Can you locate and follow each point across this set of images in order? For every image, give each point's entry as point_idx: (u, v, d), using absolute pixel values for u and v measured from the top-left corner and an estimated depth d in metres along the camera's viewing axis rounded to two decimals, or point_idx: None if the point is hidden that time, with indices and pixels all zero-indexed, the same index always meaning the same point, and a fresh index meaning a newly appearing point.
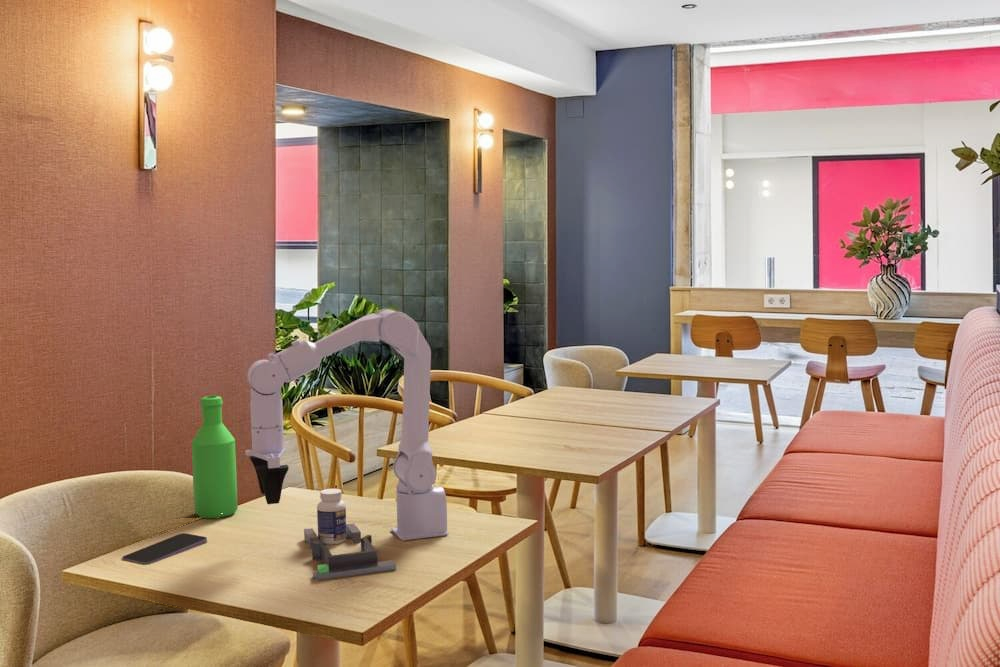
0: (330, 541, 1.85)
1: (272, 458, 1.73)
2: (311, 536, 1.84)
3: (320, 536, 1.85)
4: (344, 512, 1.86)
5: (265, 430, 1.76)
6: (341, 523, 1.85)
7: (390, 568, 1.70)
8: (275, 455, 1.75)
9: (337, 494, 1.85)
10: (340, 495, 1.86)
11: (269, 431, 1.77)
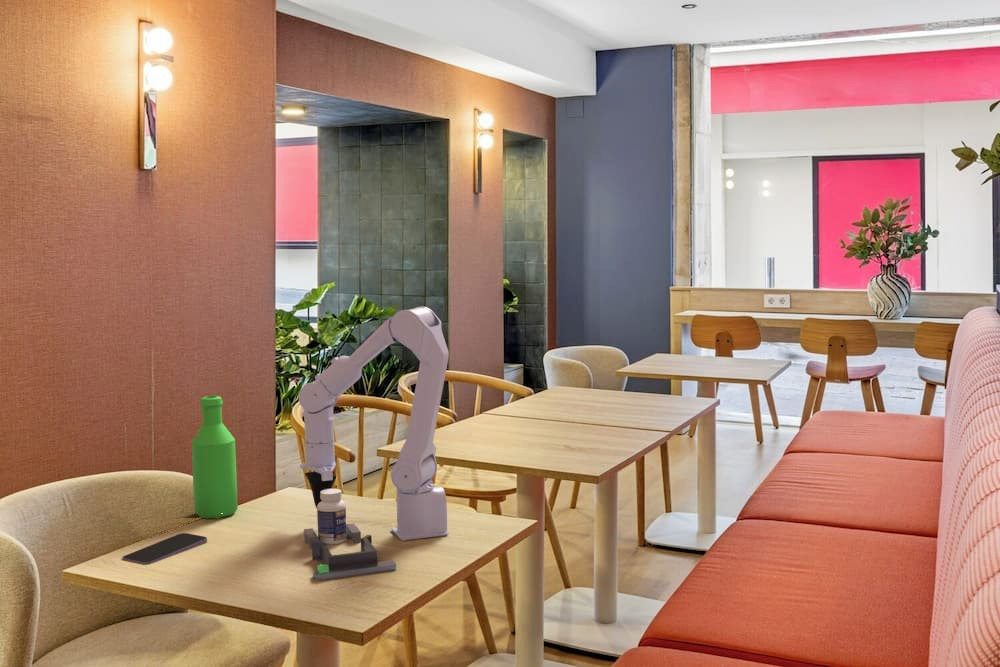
0: (330, 541, 1.85)
1: (326, 471, 1.88)
2: (311, 536, 1.84)
3: (320, 536, 1.85)
4: (344, 512, 1.86)
5: (318, 445, 1.92)
6: (341, 523, 1.85)
7: (390, 568, 1.70)
8: (328, 469, 1.91)
9: (337, 494, 1.85)
10: (340, 495, 1.86)
11: (322, 447, 1.92)
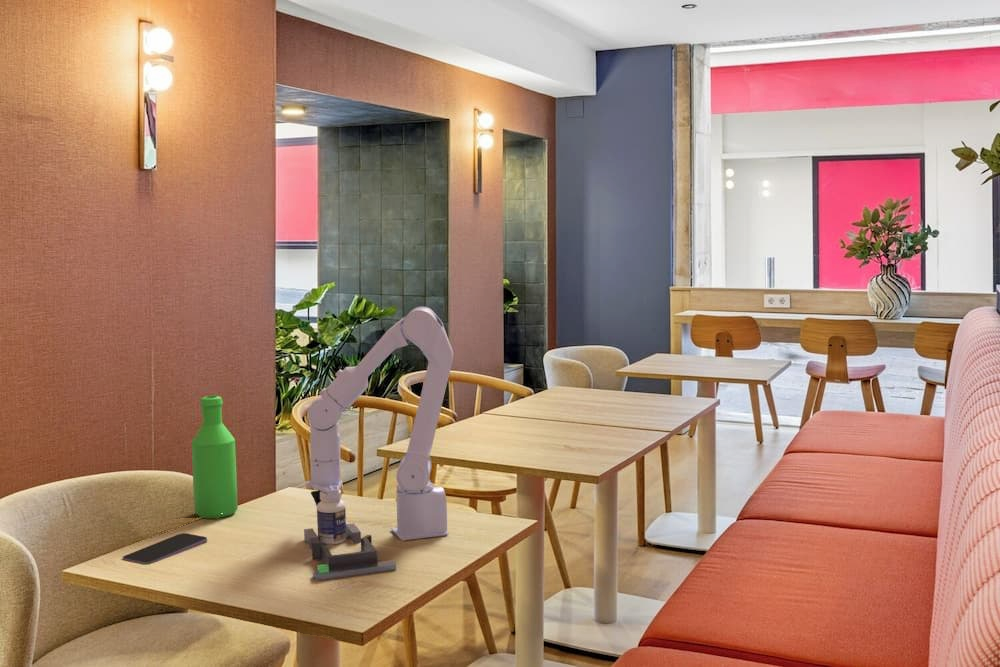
0: (330, 541, 1.84)
1: (331, 491, 1.83)
2: (311, 536, 1.84)
3: (320, 536, 1.85)
4: (343, 512, 1.85)
5: (324, 463, 1.86)
6: (341, 524, 1.85)
7: (390, 568, 1.70)
8: (334, 487, 1.86)
9: None
10: (340, 495, 1.85)
11: (328, 465, 1.87)
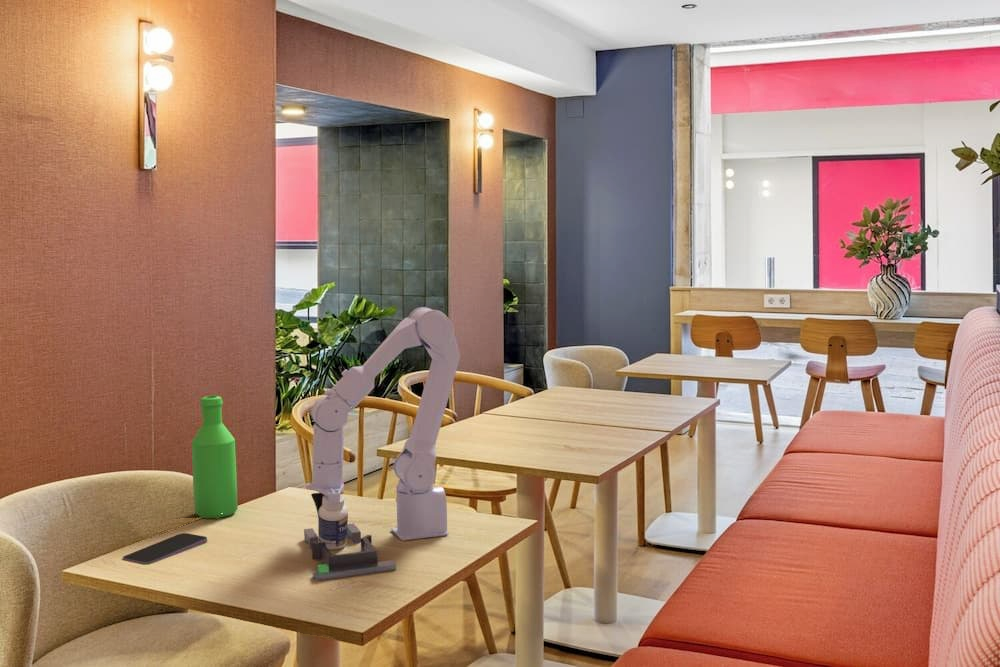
0: (332, 547, 1.81)
1: (333, 494, 1.78)
2: (311, 536, 1.84)
3: (321, 541, 1.82)
4: (346, 518, 1.81)
5: (326, 466, 1.82)
6: (344, 530, 1.81)
7: (390, 568, 1.70)
8: (335, 491, 1.81)
9: (340, 503, 1.79)
10: (343, 502, 1.80)
11: (331, 467, 1.82)
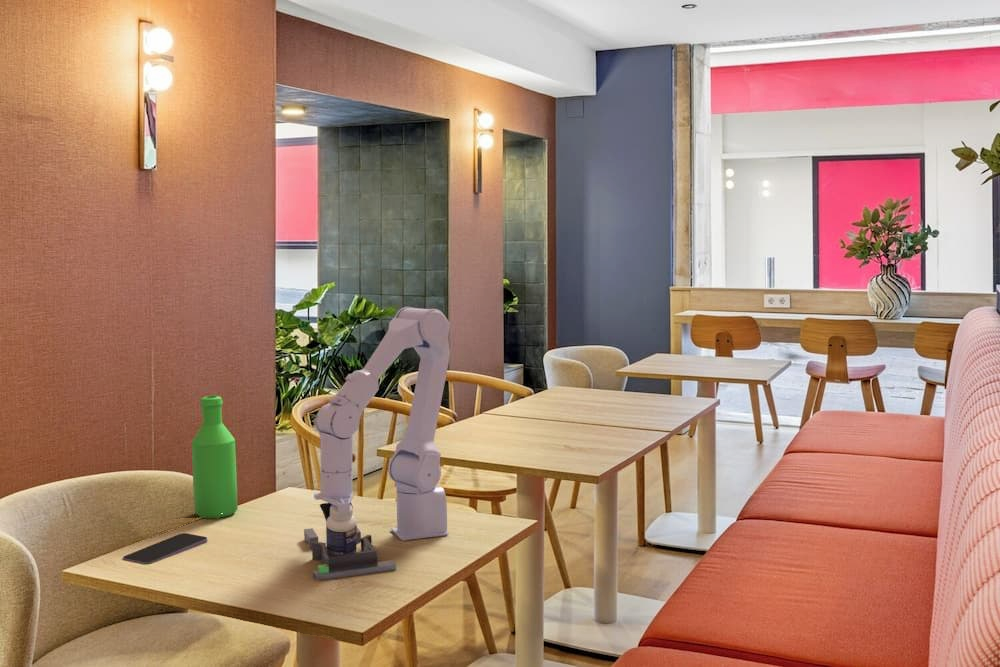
0: None
1: (342, 504, 1.72)
2: (311, 536, 1.84)
3: None
4: (354, 529, 1.75)
5: (335, 475, 1.75)
6: (351, 541, 1.75)
7: (390, 568, 1.70)
8: (345, 501, 1.74)
9: None
10: (351, 513, 1.74)
11: (339, 476, 1.76)
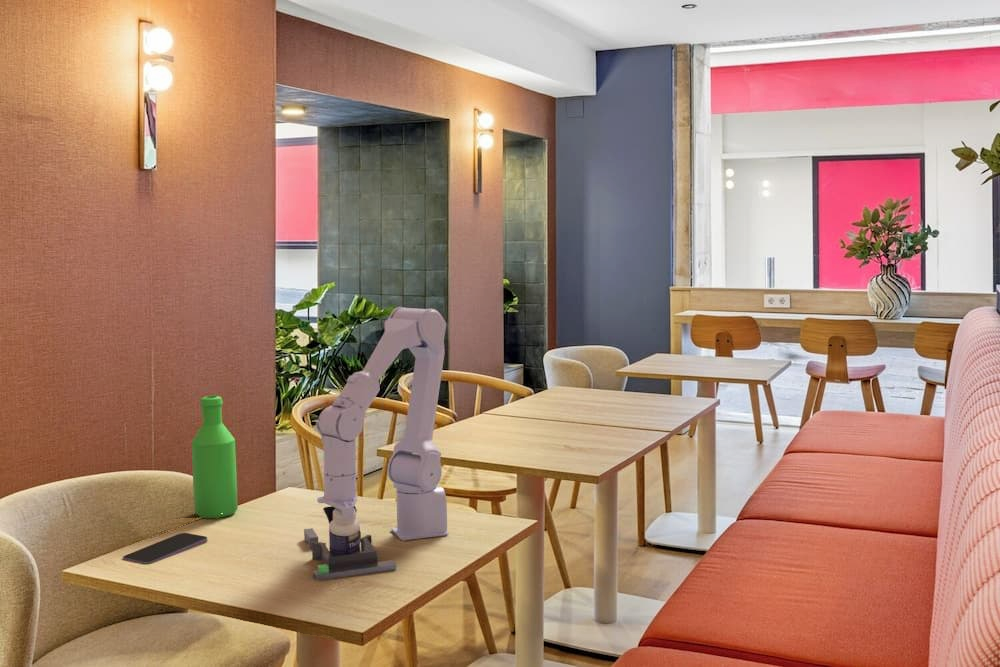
0: None
1: (346, 508, 1.70)
2: (311, 536, 1.84)
3: None
4: (357, 534, 1.73)
5: (339, 478, 1.73)
6: (354, 546, 1.73)
7: (390, 568, 1.70)
8: (349, 504, 1.72)
9: (351, 517, 1.71)
10: (354, 517, 1.72)
11: (343, 479, 1.74)
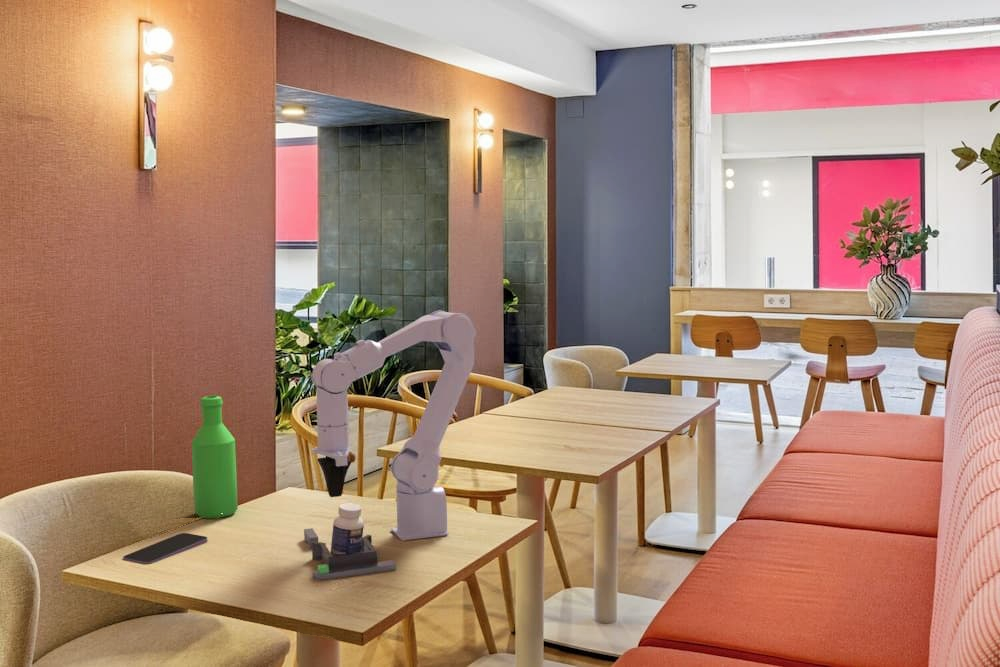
0: None
1: (340, 456, 1.75)
2: (311, 536, 1.84)
3: (332, 552, 1.74)
4: (360, 531, 1.74)
5: (332, 428, 1.78)
6: (355, 543, 1.73)
7: (390, 568, 1.70)
8: (342, 453, 1.77)
9: (355, 512, 1.73)
10: (359, 513, 1.74)
11: (336, 430, 1.79)
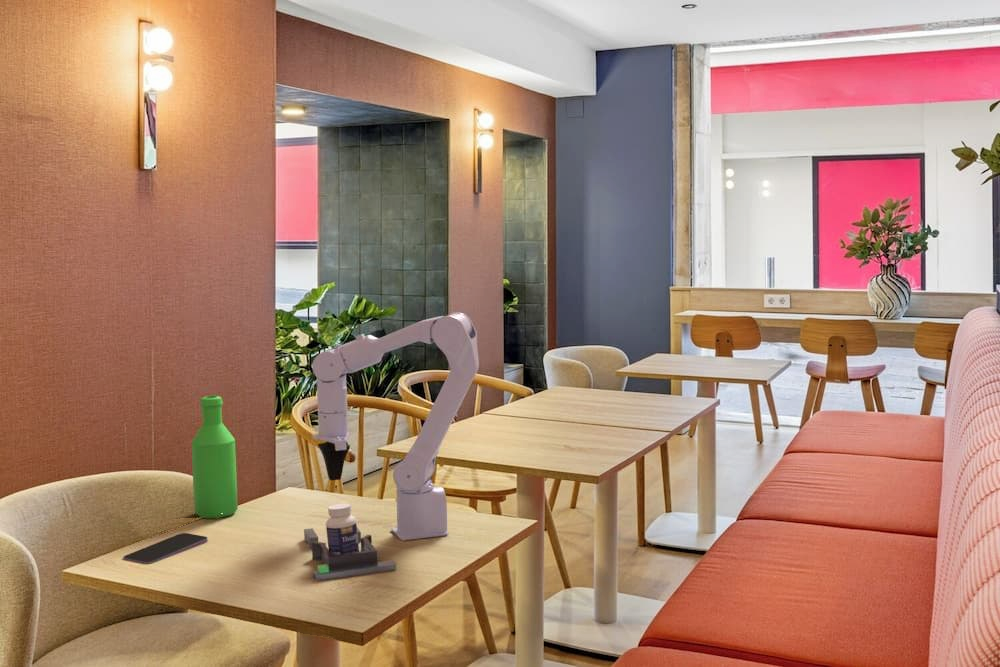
0: None
1: (339, 441, 1.85)
2: (311, 536, 1.84)
3: None
4: (351, 528, 1.74)
5: (332, 415, 1.88)
6: (348, 541, 1.73)
7: (390, 568, 1.70)
8: (342, 438, 1.87)
9: (343, 509, 1.73)
10: (347, 510, 1.74)
11: (336, 416, 1.89)
